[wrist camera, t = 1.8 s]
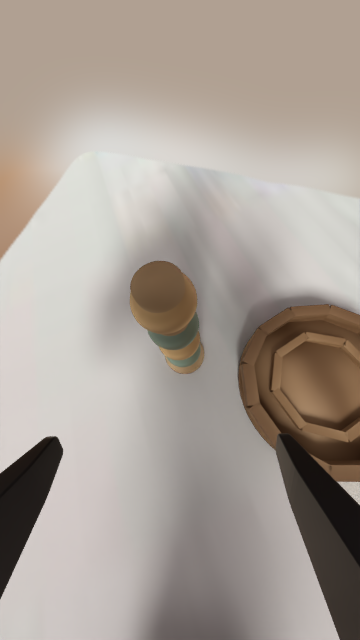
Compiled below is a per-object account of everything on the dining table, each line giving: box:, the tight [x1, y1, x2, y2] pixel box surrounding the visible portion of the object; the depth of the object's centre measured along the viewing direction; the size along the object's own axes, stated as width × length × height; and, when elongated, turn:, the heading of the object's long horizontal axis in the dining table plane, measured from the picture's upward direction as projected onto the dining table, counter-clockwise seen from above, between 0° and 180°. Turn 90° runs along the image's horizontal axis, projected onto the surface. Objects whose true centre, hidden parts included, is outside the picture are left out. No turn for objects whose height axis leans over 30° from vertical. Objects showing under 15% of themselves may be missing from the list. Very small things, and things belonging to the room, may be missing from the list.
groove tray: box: [238, 304, 360, 482], centre depth 19 cm, size 14×14×2 cm
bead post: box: [130, 261, 204, 374], centre depth 16 cm, size 4×4×14 cm
